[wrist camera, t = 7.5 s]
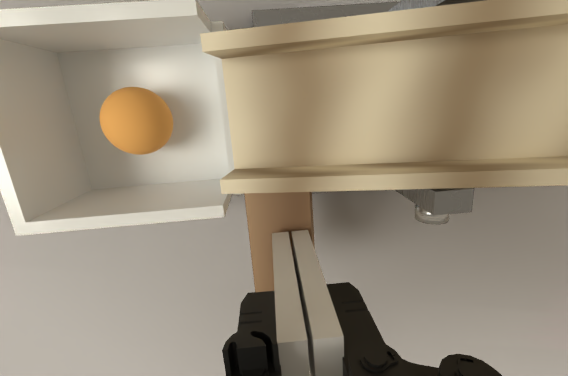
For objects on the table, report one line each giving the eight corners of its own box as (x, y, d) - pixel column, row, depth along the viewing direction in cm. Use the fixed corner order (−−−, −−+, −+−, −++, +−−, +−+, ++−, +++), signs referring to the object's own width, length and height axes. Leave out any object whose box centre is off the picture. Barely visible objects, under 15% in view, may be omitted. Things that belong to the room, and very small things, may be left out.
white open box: (48, 43, 17) (-62, 12, 11) (228, 32, 18) (210, -3, 12) (89, 197, 20) (15, 235, 14) (244, 183, 20) (237, 215, 14)
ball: (147, 89, 18) (81, 90, 16) (180, 83, 16) (108, 83, 13) (158, 147, 19) (97, 157, 17) (190, 150, 17) (125, 162, 14)
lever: (253, 279, 17) (237, 316, 14) (227, 47, 14) (200, 33, 11) (628, 288, 14) (705, 336, 11) (710, -5, 11) (850, -43, 8)
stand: (268, 194, 20) (271, 255, 12) (252, 13, 17) (241, -68, 9) (508, 173, 21) (664, 217, 13) (533, -4, 18) (757, -93, 10)
